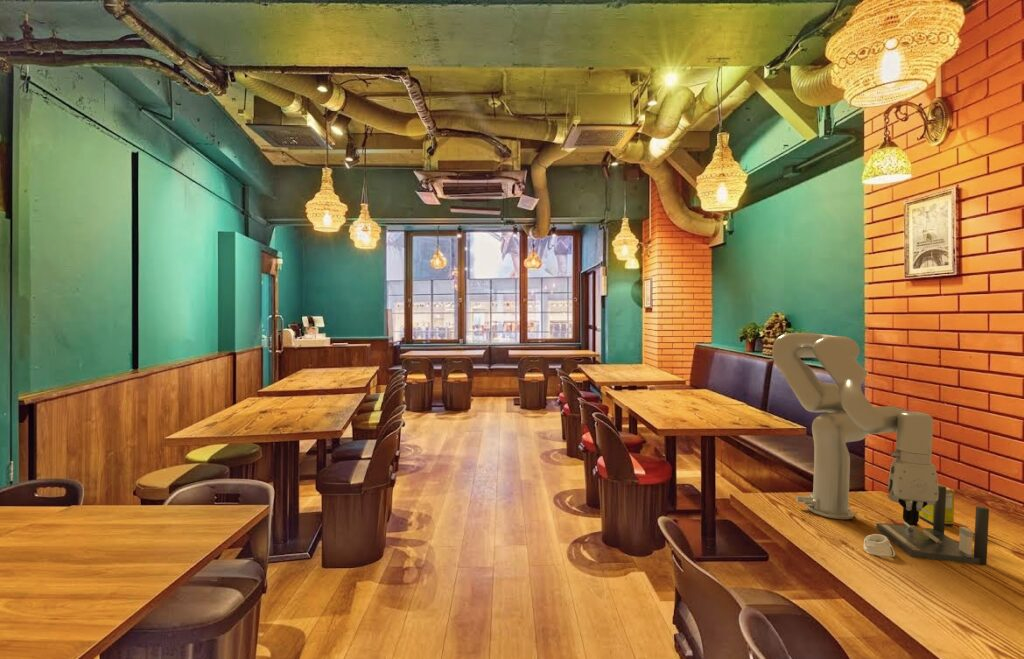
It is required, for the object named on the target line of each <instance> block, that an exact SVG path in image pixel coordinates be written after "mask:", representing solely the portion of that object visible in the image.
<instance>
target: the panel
mask: <svg viewBox="0 0 1024 659" xmlns="http://www.w3.org/2000/svg"><path fill="white" fill-rule="evenodd" d="M875 526H876V530H878V531H879V532H880V533H882V535H884V536H886V537H887V539H888V540H889V541H892V542H893V543H894V544H896V545H897V546H898V547H899V548H901V549H902V551H904V552H905V553H907V555H909V556H910V557H912V558H918V559H928V560H935V561H936V560H937V561H945V562H946V561H947V562H955V563H956V562H957V563H964V564H965V563H966V564H973V565H980V558H977V557H975V556H974V552H972V555H968V554H966V553H964V552H963V551H961V550H960V549H959V542H956V541H955V540H953V539H952V538H950V537H949V536H947V535H946V534H945V533H944V534H943V533H941V532H940V531H937V530H934V529H933V527H931V528H930V527H923V528H924V529H925V530H927V531H928V532H929V533H931V534H932V535H934V536H935V537H936V538H938V539H939V541H938V542H935V541H934V540H932V539H931V538H930V537H928V536H927V535H925V534H924V533H923V532H921V531H920V530H918V529H917V528H916V527H914V528H910V527H908V526H907V525H906V524H904V525H901V524H890V523H889V524H888V523H879V522H876V525H875Z"/></svg>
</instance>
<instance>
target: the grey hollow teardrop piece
mask: <svg viewBox="0 0 1024 659" xmlns="http://www.w3.org/2000/svg"><path fill="white" fill-rule="evenodd" d="M890 541H891V540H890V539H889V538H888V537H887V536H885V535H884V534H879V533H872V534H869V535H867V536H866V537H864V539H863V550H864V551H865V552H866V553H867V554H869V555H873V556H880V557H891V558H895V557H896V552H895V549H894V547H893V546H892V544H891V542H890Z"/></svg>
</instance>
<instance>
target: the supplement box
mask: <svg viewBox="0 0 1024 659" xmlns="http://www.w3.org/2000/svg"><path fill="white" fill-rule="evenodd" d="M938 485H941V486H944V485H943V484H939V483H938ZM945 487H946V505H945V527H954V522H955V521H954V517H955V516H954V515H955V490H954V489H952V488H950V487H947V486H945ZM919 519H921V520H922V521H924V522H926V523H928V524H930V525H931V526H933V523H934V505H926V506H925V507H924V508H922V510H921V511H920V512H919Z"/></svg>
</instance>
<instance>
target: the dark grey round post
mask: <svg viewBox="0 0 1024 659" xmlns="http://www.w3.org/2000/svg"><path fill="white" fill-rule="evenodd" d="M941 485H942V484H940V485H938V500H937V501H936V502H935V504H934V523H933V525H932V529H934V530H937V531H940V532H941V533H943V534H944V535H945V527H946V526H945V505H946V487H947V486H945V485H943V486H941ZM989 514H990V509H989V508H988V507H984V506H975V516H974V517H975V518H974V520H975V521H974V538H973V542H974V543H973V544H974V545H973V554H974V556H975V557H977V558H980V564H979V565H981V566H987V564H988V563H987V561H988V560H987V559H988V541H989V540H988V539H989V521H990V520H989V519H990V518H989V517H990V515H989Z"/></svg>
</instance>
